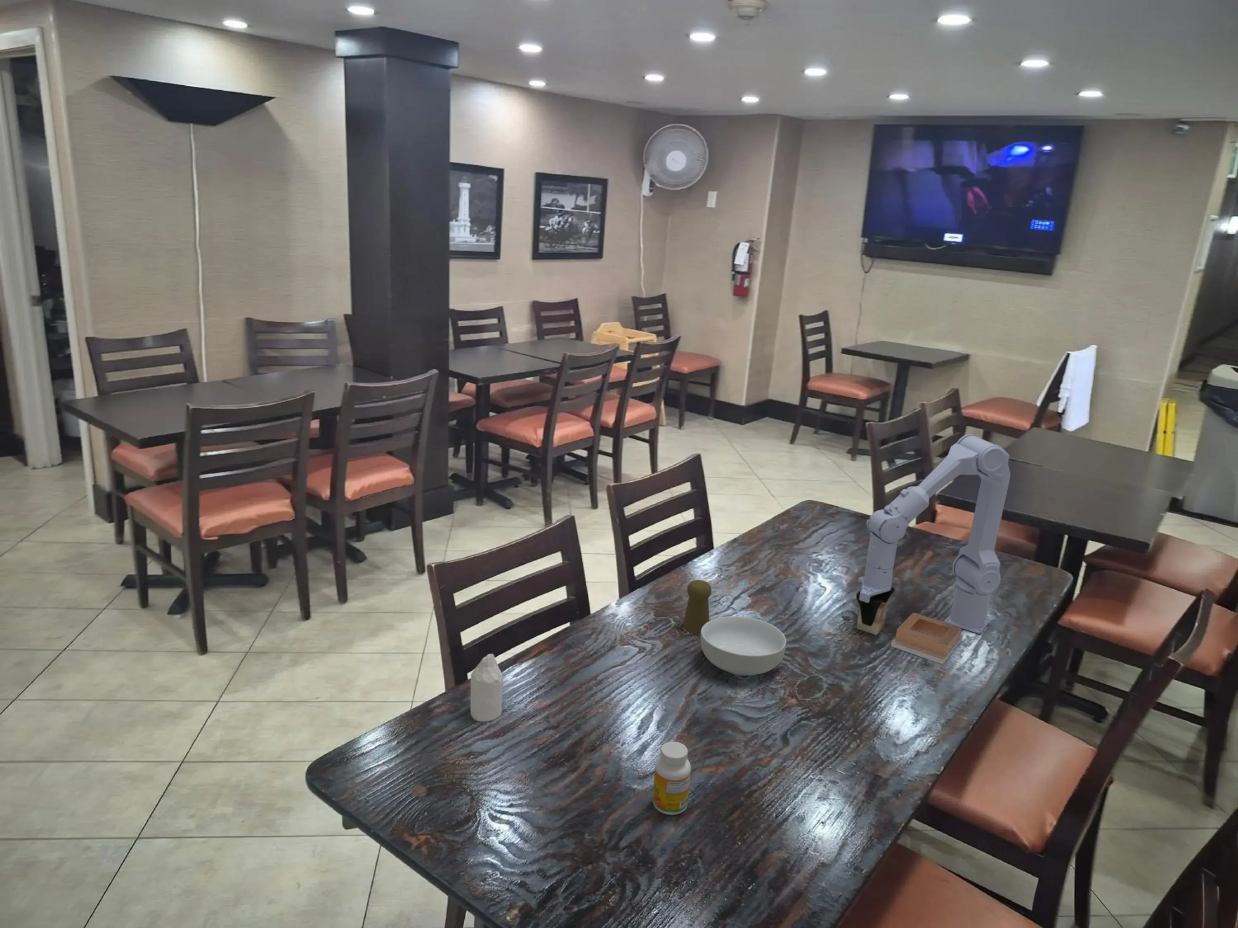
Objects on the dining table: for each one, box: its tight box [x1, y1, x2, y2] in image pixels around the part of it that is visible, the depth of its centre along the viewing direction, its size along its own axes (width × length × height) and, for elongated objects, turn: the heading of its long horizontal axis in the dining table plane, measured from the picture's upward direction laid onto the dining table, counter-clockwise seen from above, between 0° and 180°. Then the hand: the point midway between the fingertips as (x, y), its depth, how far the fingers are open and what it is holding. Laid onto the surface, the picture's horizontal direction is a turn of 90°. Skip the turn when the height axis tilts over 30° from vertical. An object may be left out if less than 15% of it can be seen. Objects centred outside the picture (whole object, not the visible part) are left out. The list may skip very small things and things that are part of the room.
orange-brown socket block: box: [890, 612, 964, 665], centre depth 176 cm, size 14×11×4 cm
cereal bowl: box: [699, 615, 787, 677], centre depth 162 cm, size 17×17×7 cm
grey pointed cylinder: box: [470, 653, 504, 723], centre depth 142 cm, size 6×12×6 cm
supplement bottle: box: [652, 741, 692, 816], centre depth 122 cm, size 5×5×10 cm
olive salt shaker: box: [682, 579, 713, 635], centre depth 176 cm, size 6×6×11 cm
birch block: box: [856, 602, 888, 636], centre depth 181 cm, size 4×4×6 cm
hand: (871, 620), depth 181 cm, fingers closed on birch block, 4 cm apart
